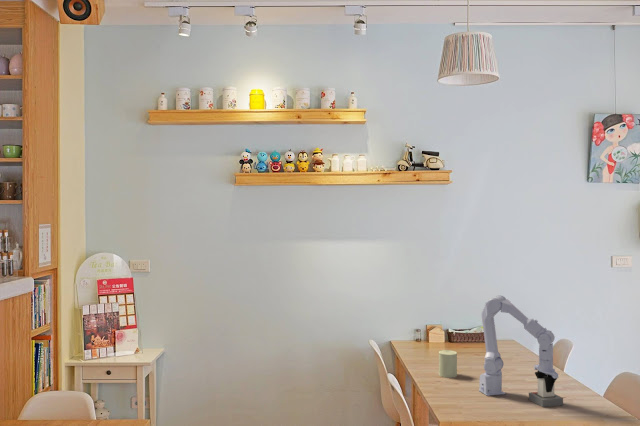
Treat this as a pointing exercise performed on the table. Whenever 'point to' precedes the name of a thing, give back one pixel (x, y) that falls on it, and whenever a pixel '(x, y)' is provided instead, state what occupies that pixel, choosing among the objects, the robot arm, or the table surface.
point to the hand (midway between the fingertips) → (545, 390)
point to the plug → (544, 389)
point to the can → (447, 363)
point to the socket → (545, 400)
